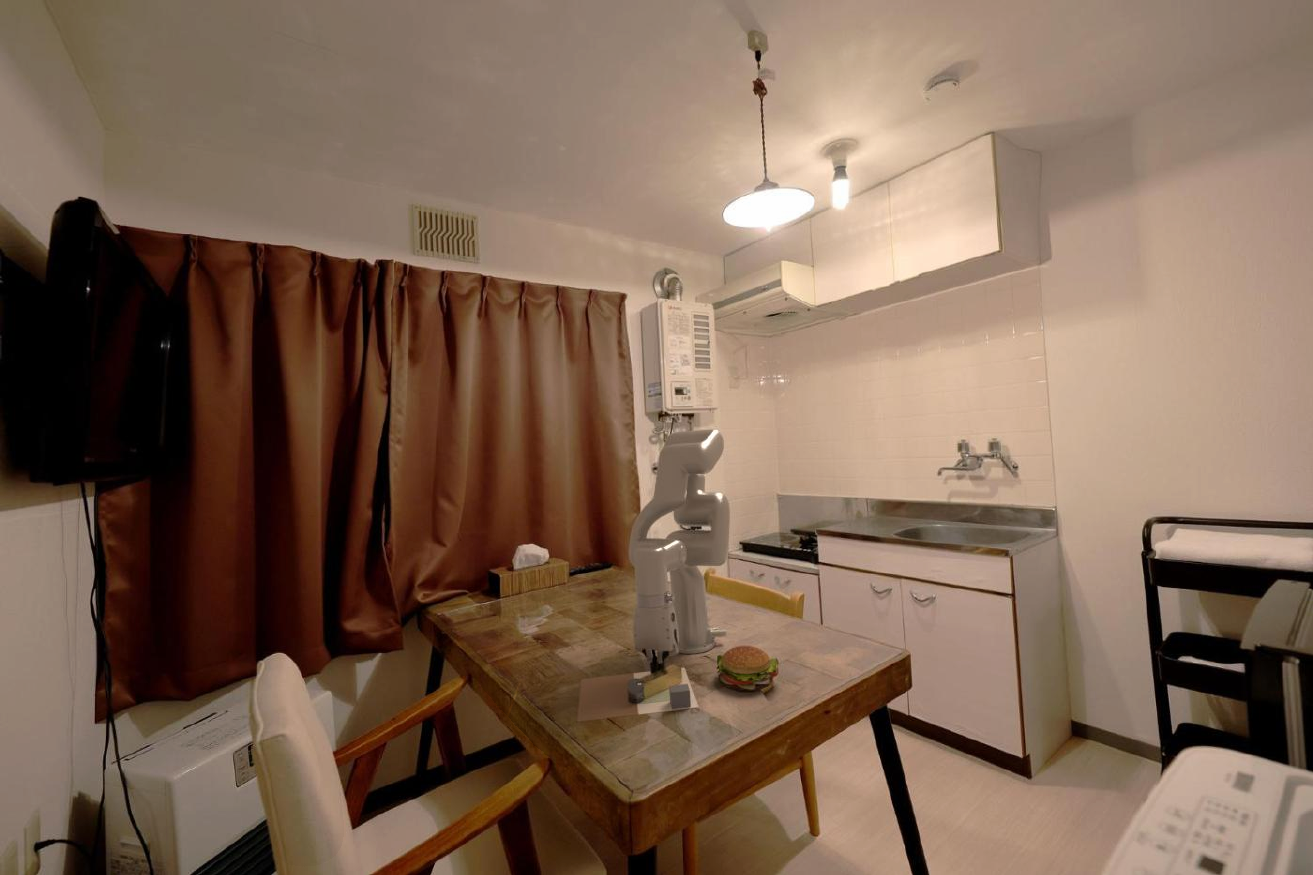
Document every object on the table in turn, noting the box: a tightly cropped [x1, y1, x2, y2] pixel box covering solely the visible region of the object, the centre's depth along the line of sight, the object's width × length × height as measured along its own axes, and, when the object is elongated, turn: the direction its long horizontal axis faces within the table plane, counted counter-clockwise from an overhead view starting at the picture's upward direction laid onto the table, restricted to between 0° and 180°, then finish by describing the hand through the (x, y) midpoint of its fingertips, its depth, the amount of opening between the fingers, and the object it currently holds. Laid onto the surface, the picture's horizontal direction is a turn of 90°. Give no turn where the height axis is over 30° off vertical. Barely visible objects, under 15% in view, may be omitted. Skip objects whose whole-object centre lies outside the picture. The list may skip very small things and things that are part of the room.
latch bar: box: [627, 663, 682, 703], centre depth 114 cm, size 14×4×4 cm, turn 129°
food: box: [716, 645, 780, 694], centre depth 117 cm, size 14×14×8 cm
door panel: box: [576, 667, 699, 723], centre depth 114 cm, size 25×19×5 cm
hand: (658, 677), depth 119 cm, fingers closed
